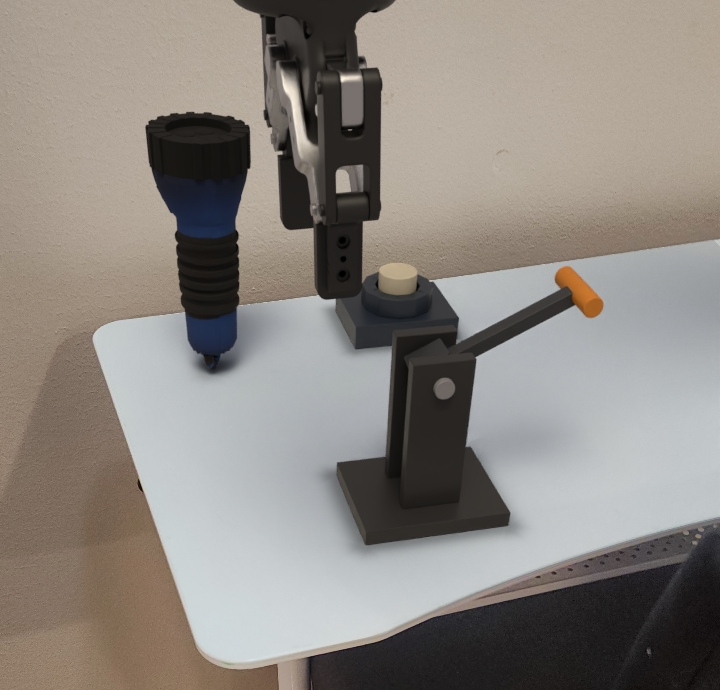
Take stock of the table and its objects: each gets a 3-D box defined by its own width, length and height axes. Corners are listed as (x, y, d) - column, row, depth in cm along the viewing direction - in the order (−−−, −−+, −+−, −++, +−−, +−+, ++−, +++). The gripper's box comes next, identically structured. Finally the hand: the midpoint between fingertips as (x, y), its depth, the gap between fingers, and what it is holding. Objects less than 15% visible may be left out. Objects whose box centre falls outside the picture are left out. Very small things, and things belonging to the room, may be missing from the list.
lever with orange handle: (577, 285, 70) (569, 255, 68) (607, 317, 66) (600, 287, 64) (409, 373, 71) (397, 346, 69) (430, 410, 68) (418, 382, 66)
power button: (410, 279, 96) (411, 261, 94) (421, 295, 93) (422, 277, 92) (373, 282, 95) (374, 264, 94) (383, 298, 92) (384, 280, 91)
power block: (431, 302, 100) (435, 263, 98) (457, 339, 95) (461, 299, 92) (335, 310, 98) (335, 271, 96) (355, 349, 93) (356, 308, 90)
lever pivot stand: (469, 458, 80) (488, 307, 71) (508, 525, 74) (535, 369, 65) (336, 474, 78) (339, 320, 69) (365, 545, 72) (372, 385, 63)
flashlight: (249, 339, 94) (238, 106, 80) (269, 380, 88) (261, 139, 74) (163, 349, 92) (137, 112, 78) (178, 392, 86) (153, 146, 72)
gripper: (456, -108, 36) (429, 314, 47) (357, -160, 46) (354, 200, 57) (251, -102, 35) (273, 331, 46) (194, -157, 44) (225, 212, 56)
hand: (318, 258), depth 52 cm, fingers open, 8 cm apart
